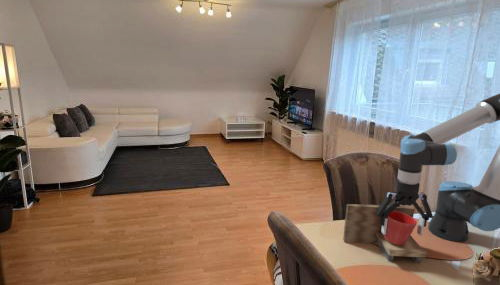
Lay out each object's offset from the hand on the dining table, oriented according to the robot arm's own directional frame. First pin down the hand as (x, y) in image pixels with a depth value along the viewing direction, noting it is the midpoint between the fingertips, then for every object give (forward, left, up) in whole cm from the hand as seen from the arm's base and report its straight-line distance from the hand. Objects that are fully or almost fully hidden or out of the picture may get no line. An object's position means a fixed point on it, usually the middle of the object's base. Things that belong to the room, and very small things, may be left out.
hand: (401, 233), depth 121 cm
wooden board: (+6, -7, -8) cm, 13 cm away
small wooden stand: (0, +1, -8) cm, 8 cm away
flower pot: (+2, 0, -3) cm, 4 cm away
